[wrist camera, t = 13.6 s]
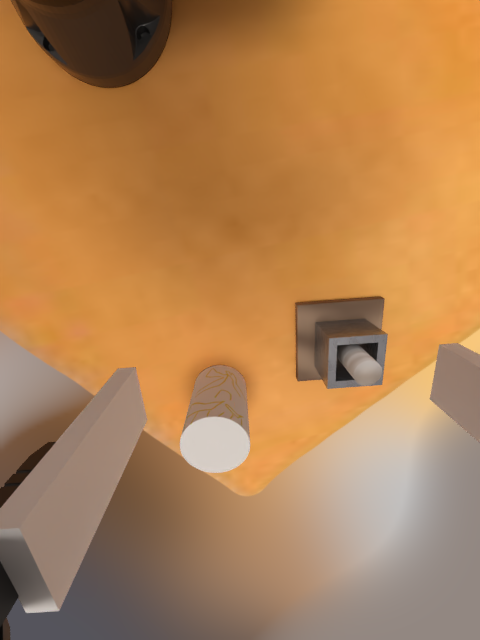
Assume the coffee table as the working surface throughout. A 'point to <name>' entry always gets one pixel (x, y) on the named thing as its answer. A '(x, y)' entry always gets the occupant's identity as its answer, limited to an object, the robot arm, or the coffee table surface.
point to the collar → (345, 334)
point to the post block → (348, 355)
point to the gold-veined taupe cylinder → (217, 421)
